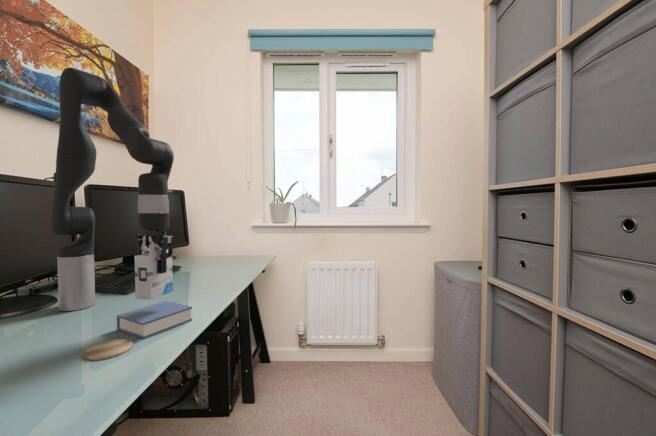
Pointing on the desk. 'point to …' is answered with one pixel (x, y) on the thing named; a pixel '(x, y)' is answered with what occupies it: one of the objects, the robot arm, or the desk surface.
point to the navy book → (153, 319)
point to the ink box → (152, 276)
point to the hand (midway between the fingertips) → (154, 271)
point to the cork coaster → (108, 349)
